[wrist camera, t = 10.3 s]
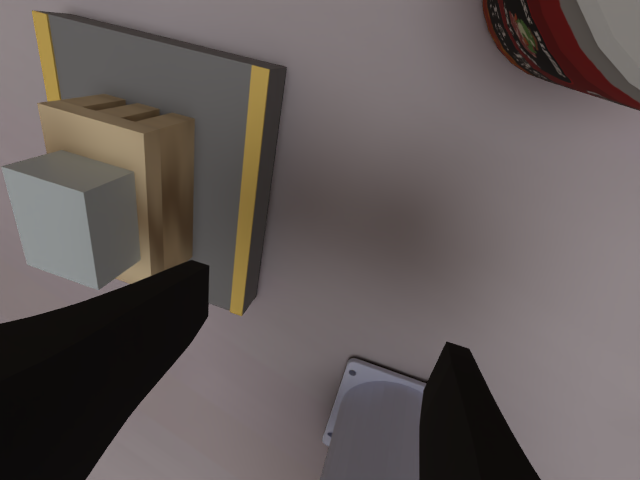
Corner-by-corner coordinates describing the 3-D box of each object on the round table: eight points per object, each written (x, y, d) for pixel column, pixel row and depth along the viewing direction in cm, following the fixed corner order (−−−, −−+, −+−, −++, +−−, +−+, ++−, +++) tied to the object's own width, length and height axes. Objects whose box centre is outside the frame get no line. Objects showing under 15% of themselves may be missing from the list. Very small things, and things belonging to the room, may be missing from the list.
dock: (256, 296, 24) (241, 316, 22) (99, 242, 26) (74, 256, 24) (286, 67, 17) (269, 69, 15) (70, 13, 19) (31, 10, 17)
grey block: (140, 260, 18) (98, 290, 15) (77, 238, 18) (27, 264, 16) (133, 171, 15) (83, 192, 13) (61, 149, 16) (1, 166, 14)
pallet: (192, 256, 22) (151, 291, 18) (118, 231, 22) (67, 261, 19) (194, 118, 18) (143, 133, 14) (104, 93, 18) (37, 103, 15)
